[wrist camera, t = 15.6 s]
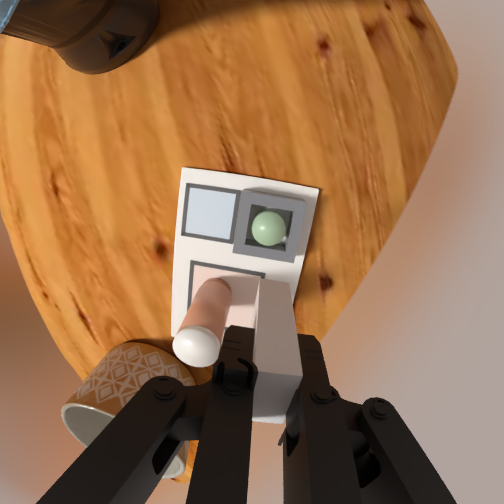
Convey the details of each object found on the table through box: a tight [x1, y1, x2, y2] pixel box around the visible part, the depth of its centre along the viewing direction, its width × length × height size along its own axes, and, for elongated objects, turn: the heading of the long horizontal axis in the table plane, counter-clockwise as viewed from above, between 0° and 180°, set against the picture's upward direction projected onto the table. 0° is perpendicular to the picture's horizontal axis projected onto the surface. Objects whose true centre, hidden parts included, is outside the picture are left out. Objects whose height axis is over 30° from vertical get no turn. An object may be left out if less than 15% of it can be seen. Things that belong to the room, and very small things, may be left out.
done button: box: [252, 209, 286, 246], centre depth 30 cm, size 4×4×2 cm
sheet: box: [171, 167, 319, 345], centre depth 35 cm, size 16×24×1 cm, turn 171°
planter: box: [61, 342, 196, 479], centre depth 35 cm, size 19×19×16 cm
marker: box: [173, 278, 232, 367], centre depth 30 cm, size 4×4×12 cm
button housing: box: [232, 189, 307, 263], centre depth 31 cm, size 7×7×2 cm
